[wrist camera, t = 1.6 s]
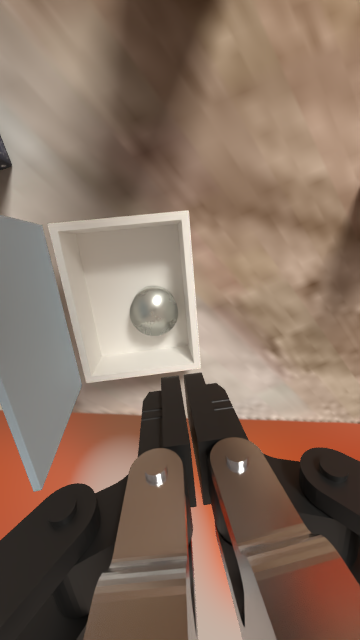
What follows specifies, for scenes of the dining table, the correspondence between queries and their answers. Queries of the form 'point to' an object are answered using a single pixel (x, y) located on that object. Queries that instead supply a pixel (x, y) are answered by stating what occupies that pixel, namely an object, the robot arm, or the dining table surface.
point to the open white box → (127, 291)
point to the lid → (33, 348)
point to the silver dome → (153, 311)
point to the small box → (4, 156)
